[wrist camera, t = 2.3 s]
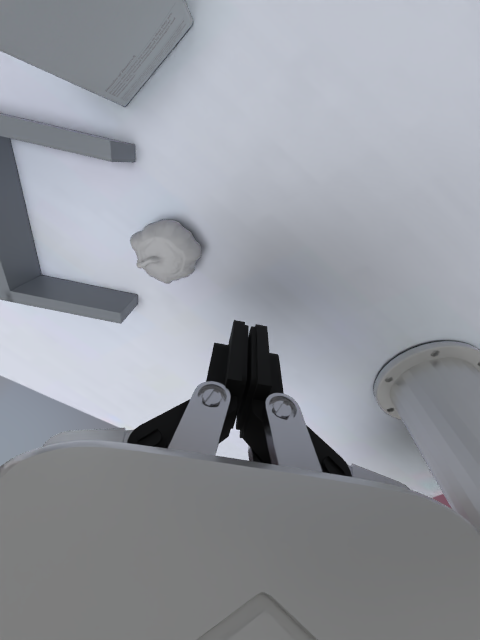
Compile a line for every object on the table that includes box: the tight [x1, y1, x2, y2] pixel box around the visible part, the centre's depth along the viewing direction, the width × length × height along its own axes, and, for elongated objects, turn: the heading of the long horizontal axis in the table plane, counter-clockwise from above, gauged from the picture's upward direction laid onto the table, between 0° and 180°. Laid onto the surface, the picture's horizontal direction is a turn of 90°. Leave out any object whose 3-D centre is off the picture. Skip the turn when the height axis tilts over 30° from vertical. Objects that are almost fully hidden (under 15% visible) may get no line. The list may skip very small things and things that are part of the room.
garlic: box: [130, 219, 202, 284], centre depth 22 cm, size 6×5×5 cm
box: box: [0, 113, 138, 323], centre depth 22 cm, size 11×15×4 cm
